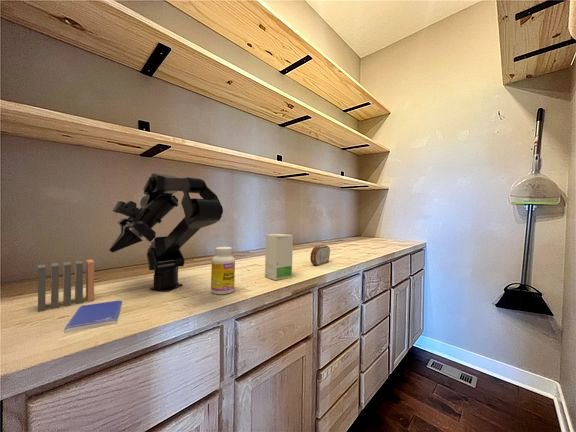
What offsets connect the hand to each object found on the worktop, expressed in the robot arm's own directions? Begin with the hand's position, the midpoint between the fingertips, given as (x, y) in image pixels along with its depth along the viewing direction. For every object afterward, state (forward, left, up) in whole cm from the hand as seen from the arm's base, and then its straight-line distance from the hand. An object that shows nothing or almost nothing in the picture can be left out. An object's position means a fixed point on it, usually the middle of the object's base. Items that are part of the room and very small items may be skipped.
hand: (110, 251), depth 66 cm
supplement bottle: (-12, +28, -12) cm, 33 cm away
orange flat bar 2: (+6, -3, -12) cm, 14 cm away
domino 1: (+12, -6, -12) cm, 18 cm away
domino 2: (+10, -5, -12) cm, 16 cm away
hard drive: (+11, +10, -13) cm, 20 cm away
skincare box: (-32, +39, -12) cm, 52 cm away
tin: (-60, +51, -12) cm, 79 cm away
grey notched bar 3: (+8, -4, -12) cm, 15 cm away
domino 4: (+4, -2, -12) cm, 13 cm away
